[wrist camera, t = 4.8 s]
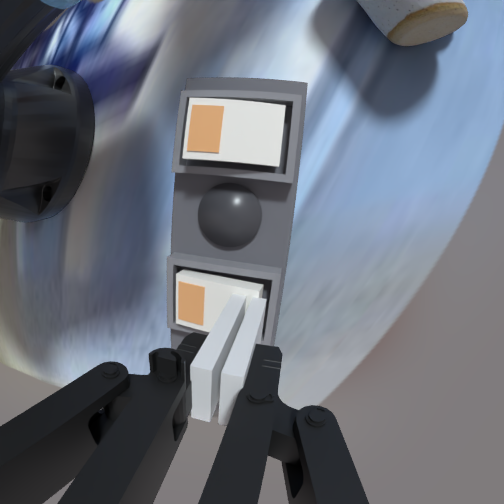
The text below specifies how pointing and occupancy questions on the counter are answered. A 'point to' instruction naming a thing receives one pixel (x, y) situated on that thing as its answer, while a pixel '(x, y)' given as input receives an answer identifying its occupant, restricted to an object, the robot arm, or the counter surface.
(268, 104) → the rocker outlet
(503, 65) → the counter surface
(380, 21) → the ceramic mug
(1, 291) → the counter surface
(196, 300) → the rocker outlet
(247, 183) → the power strip
